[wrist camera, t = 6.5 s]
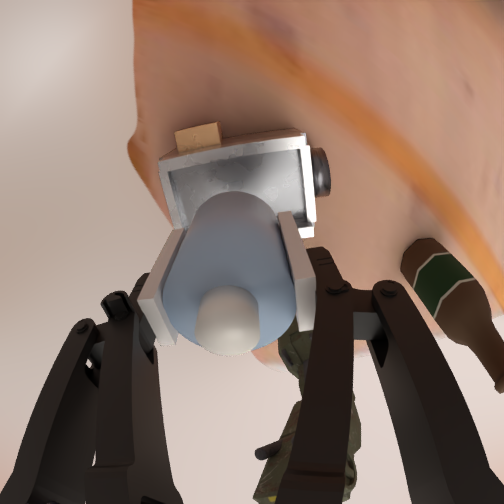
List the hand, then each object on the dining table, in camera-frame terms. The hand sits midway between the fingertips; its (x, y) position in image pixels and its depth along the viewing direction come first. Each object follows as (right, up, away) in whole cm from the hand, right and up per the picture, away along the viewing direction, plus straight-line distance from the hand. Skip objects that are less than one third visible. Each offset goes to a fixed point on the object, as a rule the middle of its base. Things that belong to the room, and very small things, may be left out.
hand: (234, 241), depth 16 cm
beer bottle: (+26, -2, +19) cm, 32 cm away
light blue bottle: (0, 0, +1) cm, 1 cm away
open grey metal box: (+1, +9, +13) cm, 16 cm away
